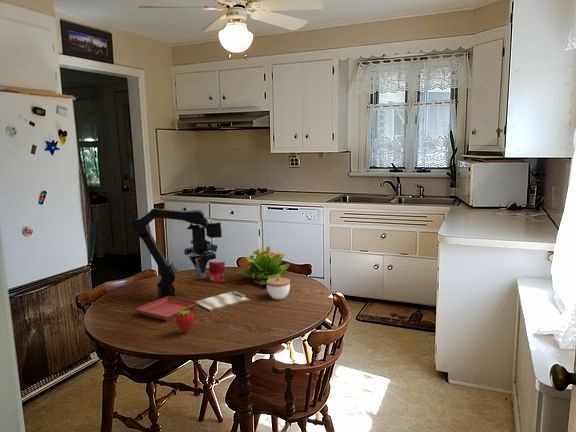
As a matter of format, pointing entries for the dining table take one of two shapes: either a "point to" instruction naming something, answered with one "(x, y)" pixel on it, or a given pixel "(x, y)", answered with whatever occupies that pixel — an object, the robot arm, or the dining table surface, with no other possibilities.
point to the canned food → (217, 270)
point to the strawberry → (185, 320)
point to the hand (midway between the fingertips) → (200, 272)
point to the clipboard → (222, 301)
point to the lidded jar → (278, 287)
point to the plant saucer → (166, 307)
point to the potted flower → (265, 266)
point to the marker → (199, 270)
